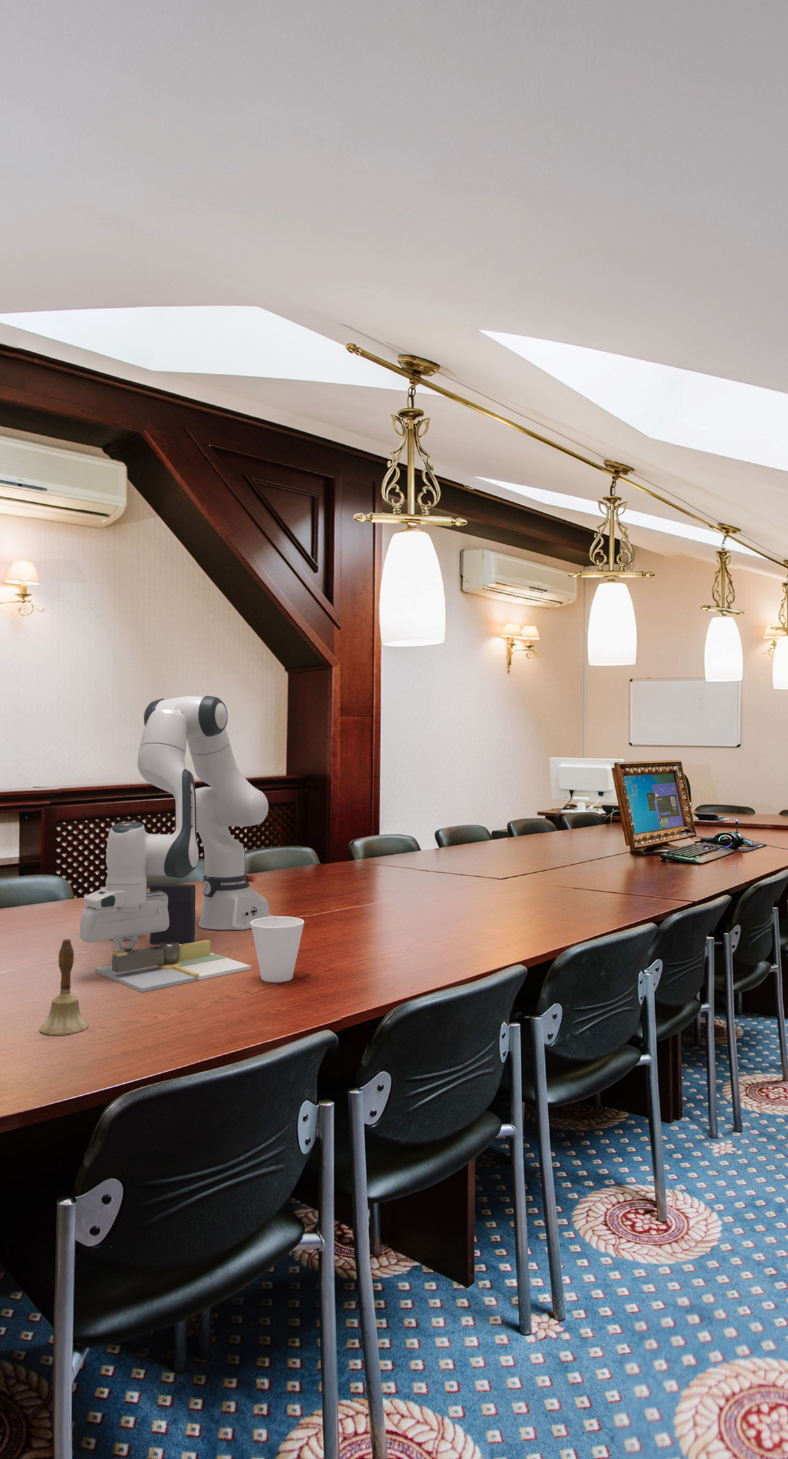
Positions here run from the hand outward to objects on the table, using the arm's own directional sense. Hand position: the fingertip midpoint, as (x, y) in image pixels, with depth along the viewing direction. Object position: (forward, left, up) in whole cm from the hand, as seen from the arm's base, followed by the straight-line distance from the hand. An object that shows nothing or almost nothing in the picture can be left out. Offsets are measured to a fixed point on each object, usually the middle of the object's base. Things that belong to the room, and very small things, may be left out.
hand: (125, 956), depth 195 cm
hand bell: (+26, +28, -4) cm, 39 cm away
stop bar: (-2, +5, -1) cm, 6 cm away
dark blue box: (-22, -18, -4) cm, 28 cm away
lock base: (-8, +6, -3) cm, 11 cm away
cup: (-22, +27, -4) cm, 35 cm away
